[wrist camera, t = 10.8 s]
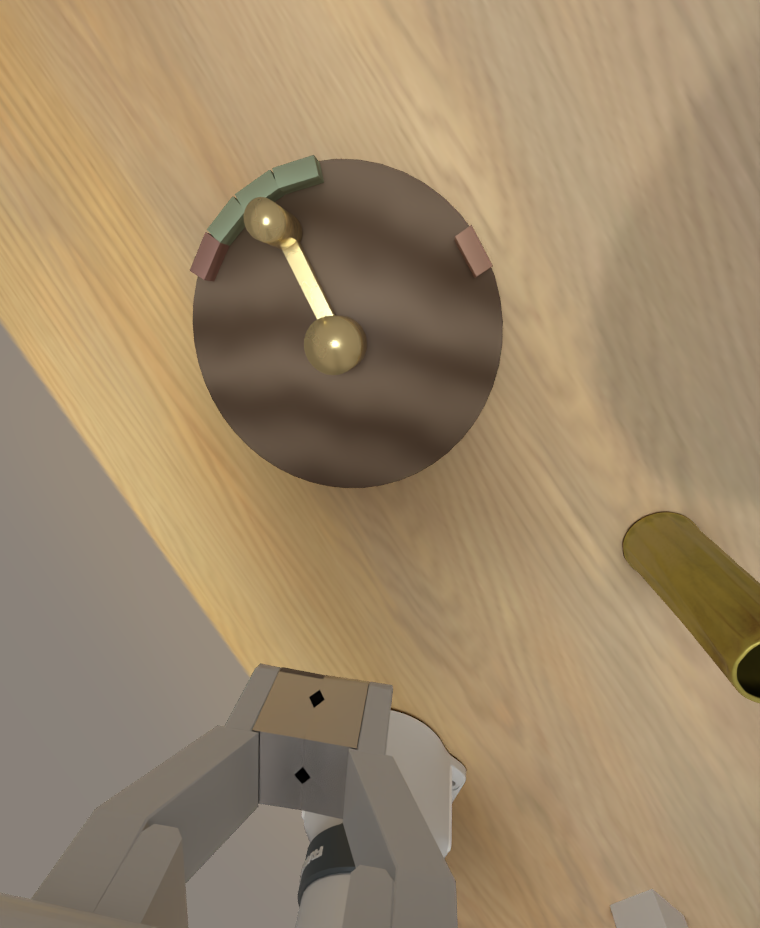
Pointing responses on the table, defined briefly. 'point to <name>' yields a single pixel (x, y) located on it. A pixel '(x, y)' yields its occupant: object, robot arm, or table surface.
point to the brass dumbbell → (308, 291)
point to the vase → (702, 593)
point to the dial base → (368, 303)
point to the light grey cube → (647, 912)
